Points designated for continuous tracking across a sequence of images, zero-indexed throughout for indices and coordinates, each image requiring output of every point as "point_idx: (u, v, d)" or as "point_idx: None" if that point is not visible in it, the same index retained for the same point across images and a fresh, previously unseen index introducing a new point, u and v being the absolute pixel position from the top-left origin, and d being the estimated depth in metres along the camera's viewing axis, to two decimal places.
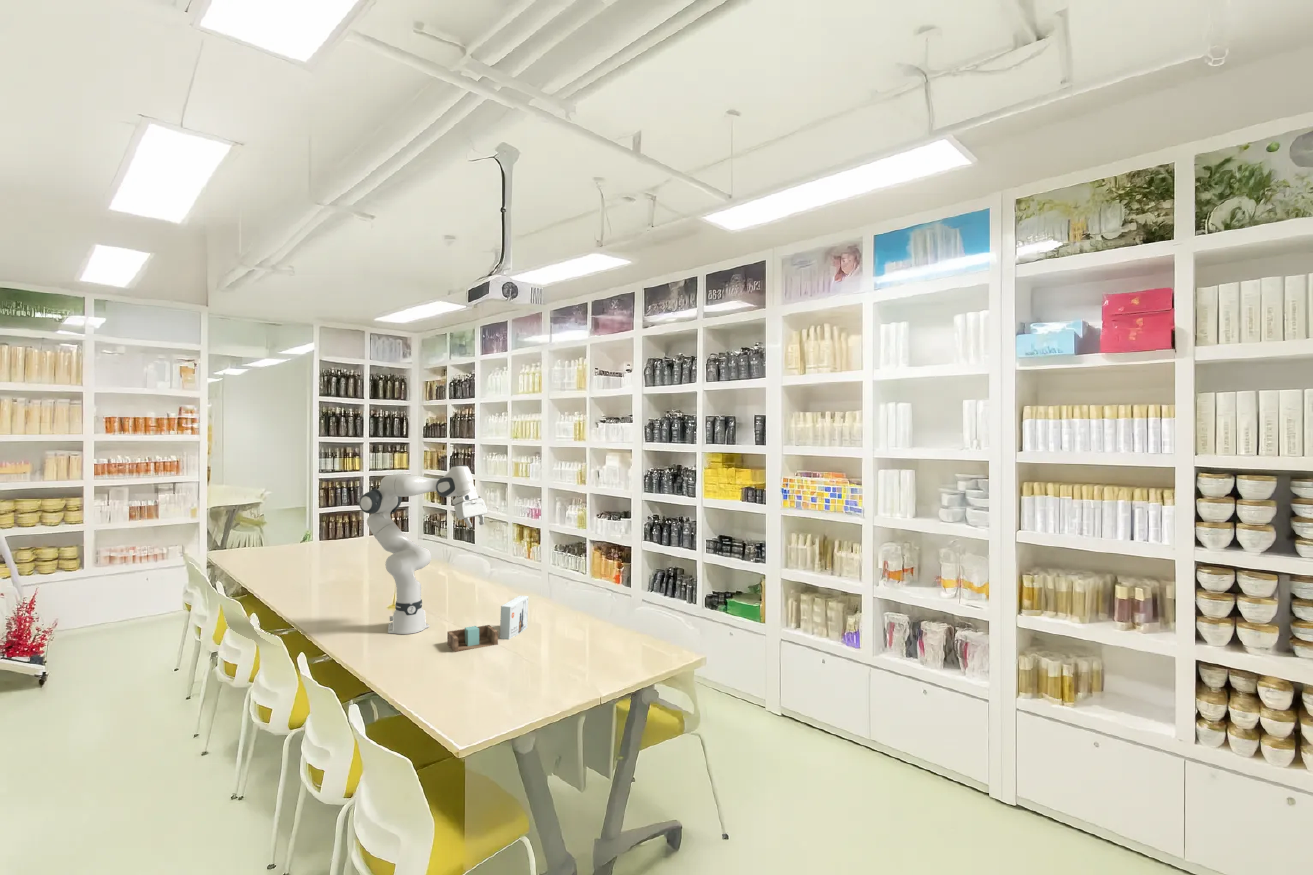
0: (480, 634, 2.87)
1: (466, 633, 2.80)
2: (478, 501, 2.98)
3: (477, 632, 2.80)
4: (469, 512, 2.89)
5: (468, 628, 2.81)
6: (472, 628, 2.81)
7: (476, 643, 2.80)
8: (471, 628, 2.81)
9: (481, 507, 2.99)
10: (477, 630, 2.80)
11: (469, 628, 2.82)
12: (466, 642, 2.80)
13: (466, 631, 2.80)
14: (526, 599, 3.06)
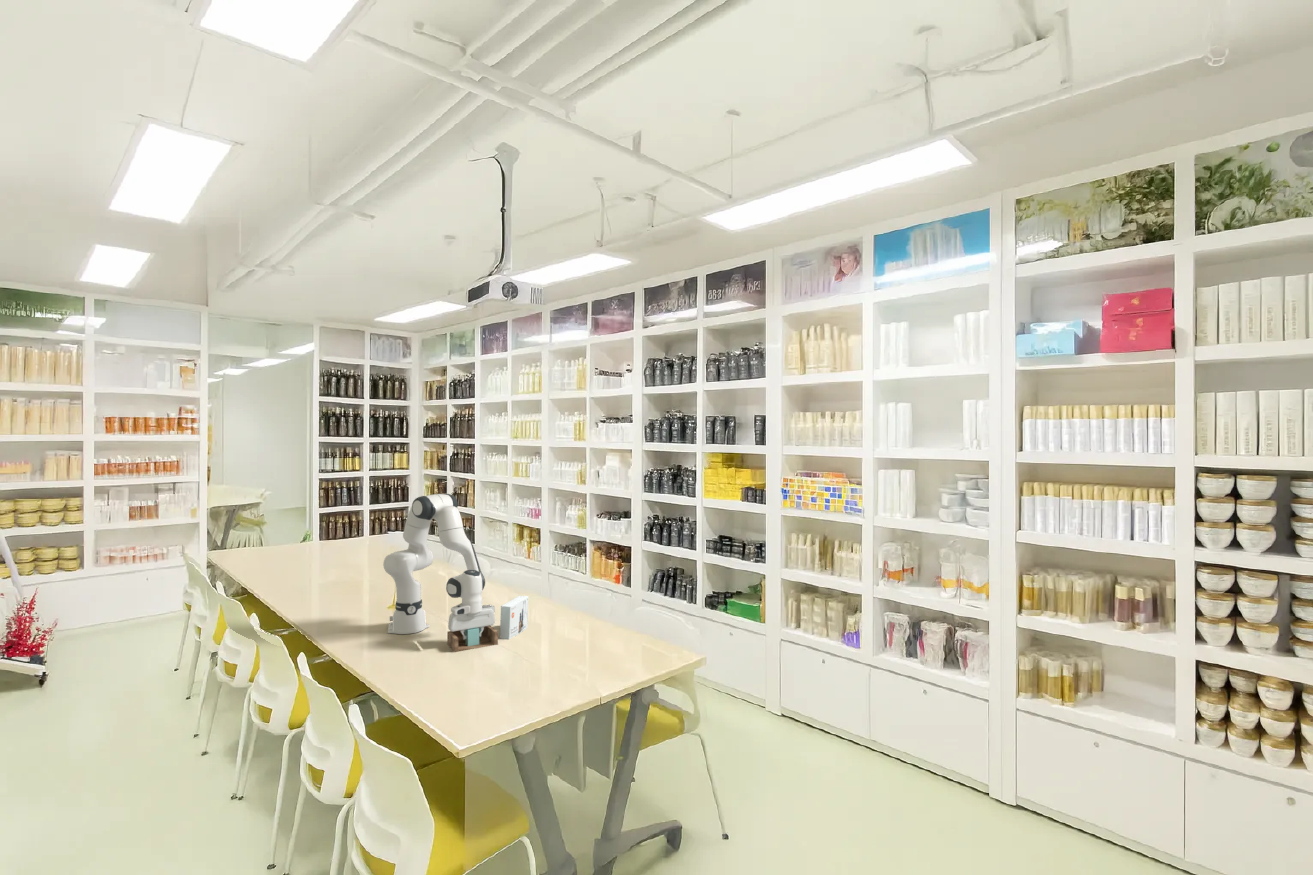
0: None
1: (466, 633, 2.80)
2: (483, 612, 2.83)
3: (477, 632, 2.80)
4: (462, 625, 2.78)
5: None
6: (472, 628, 2.81)
7: (476, 643, 2.80)
8: None
9: (485, 619, 2.83)
10: (477, 630, 2.80)
11: None
12: (466, 642, 2.80)
13: (466, 631, 2.80)
14: (526, 599, 3.06)
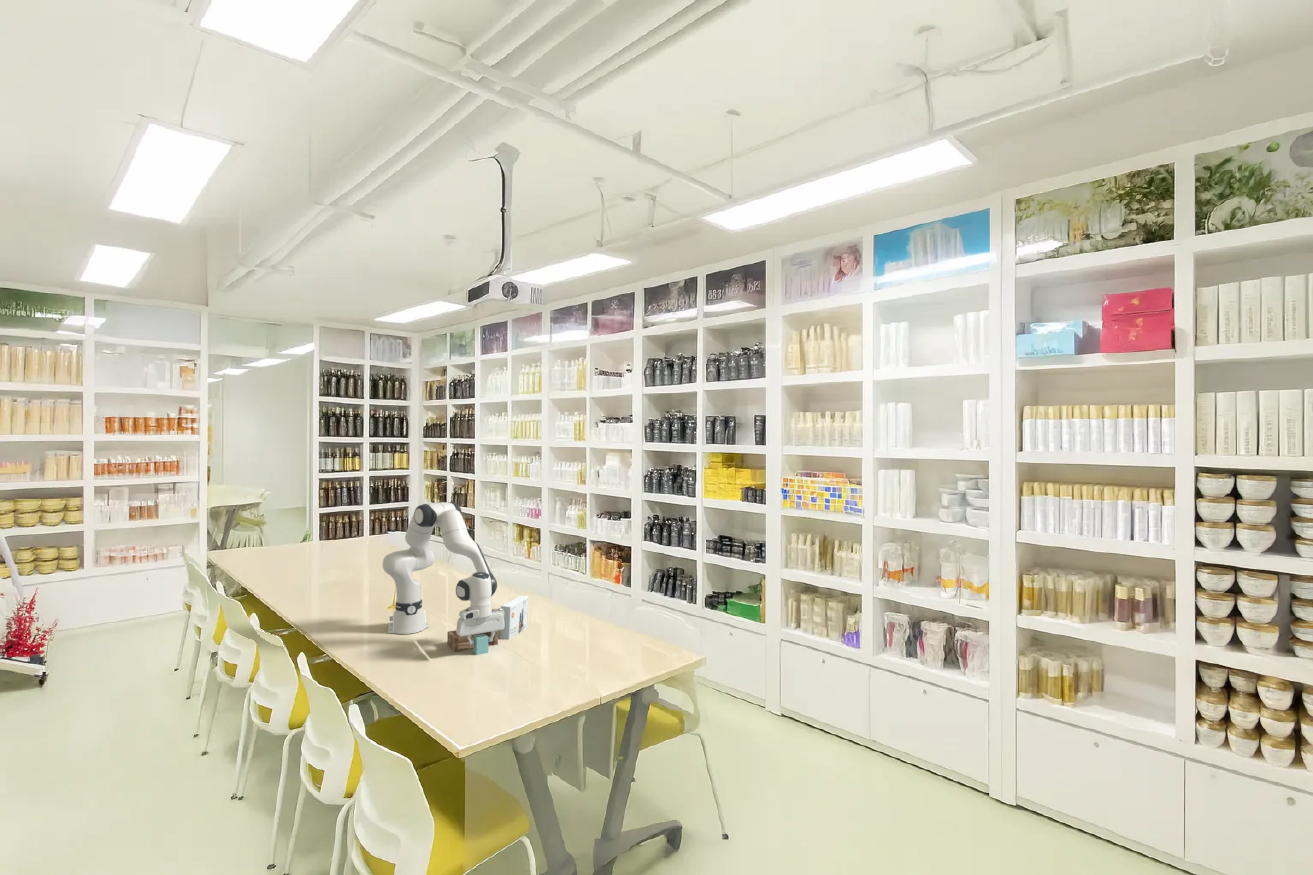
0: (480, 634, 2.87)
1: (475, 641, 2.69)
2: (492, 616, 2.72)
3: (486, 640, 2.70)
4: (471, 630, 2.67)
5: (477, 636, 2.70)
6: (481, 636, 2.70)
7: (485, 652, 2.69)
8: (480, 636, 2.70)
9: (494, 624, 2.72)
10: (486, 638, 2.70)
11: (477, 636, 2.71)
12: (475, 651, 2.69)
13: (475, 639, 2.69)
14: (526, 599, 3.06)
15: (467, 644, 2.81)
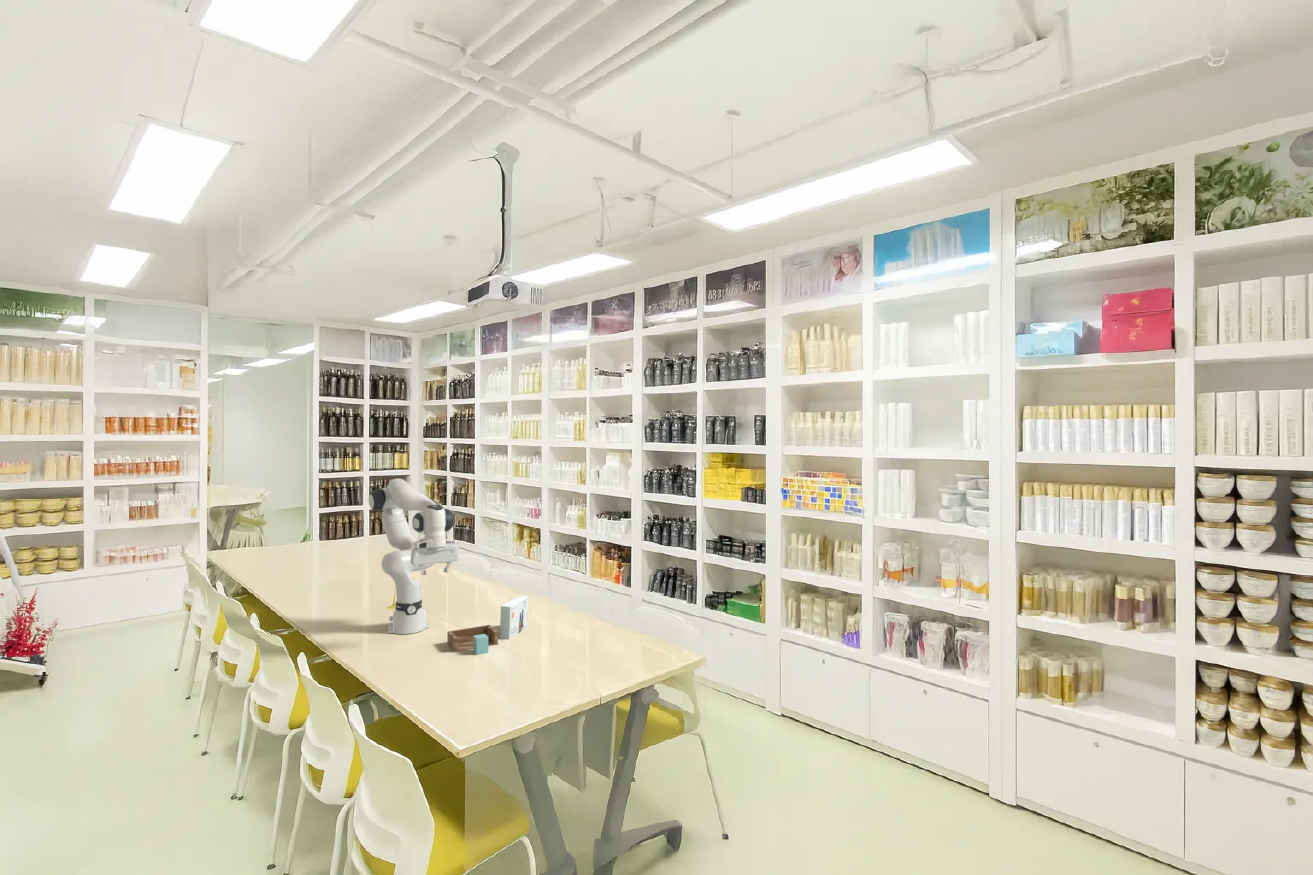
0: (480, 634, 2.87)
1: (475, 641, 2.69)
2: (446, 548, 2.79)
3: (486, 640, 2.70)
4: (425, 559, 2.74)
5: (477, 636, 2.70)
6: (481, 636, 2.70)
7: (485, 652, 2.69)
8: (480, 636, 2.70)
9: (448, 555, 2.79)
10: (486, 638, 2.70)
11: (477, 636, 2.71)
12: (475, 651, 2.69)
13: (475, 639, 2.69)
14: (526, 599, 3.06)
15: (467, 644, 2.81)
